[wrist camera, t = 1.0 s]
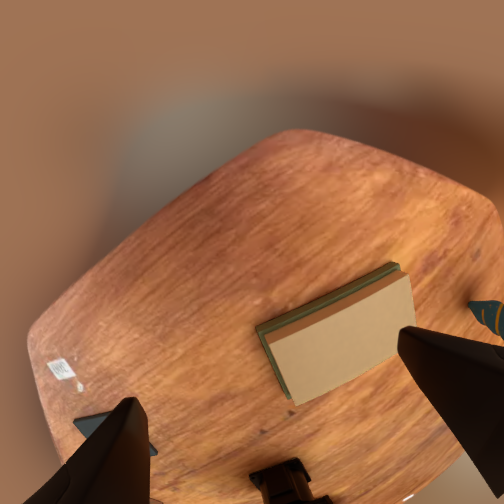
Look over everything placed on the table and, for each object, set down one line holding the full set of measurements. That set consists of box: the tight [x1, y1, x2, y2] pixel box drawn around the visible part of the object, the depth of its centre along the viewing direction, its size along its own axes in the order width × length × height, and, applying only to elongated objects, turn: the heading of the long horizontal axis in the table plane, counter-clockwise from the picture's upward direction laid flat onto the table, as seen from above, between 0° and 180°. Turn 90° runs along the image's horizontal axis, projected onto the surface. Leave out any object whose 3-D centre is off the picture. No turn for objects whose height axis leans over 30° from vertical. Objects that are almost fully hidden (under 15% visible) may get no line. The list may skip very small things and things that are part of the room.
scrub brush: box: [255, 262, 417, 406], centre depth 24 cm, size 8×14×3 cm, turn 111°
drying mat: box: [73, 411, 158, 456], centre depth 23 cm, size 7×7×1 cm
